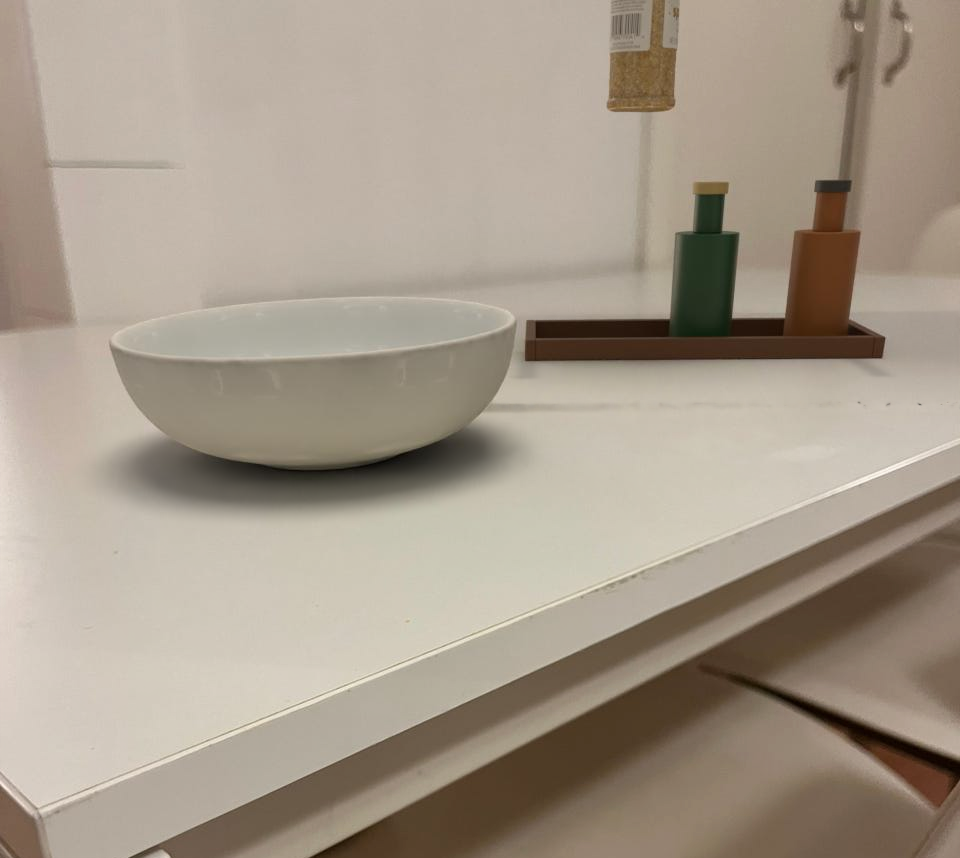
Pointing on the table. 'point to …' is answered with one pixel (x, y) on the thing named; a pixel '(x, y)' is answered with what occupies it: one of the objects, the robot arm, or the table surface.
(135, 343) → the serving bowl
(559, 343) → the tray
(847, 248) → the amber bottle
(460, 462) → the table surface
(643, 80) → the sprinkles bottle
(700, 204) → the green bottle
